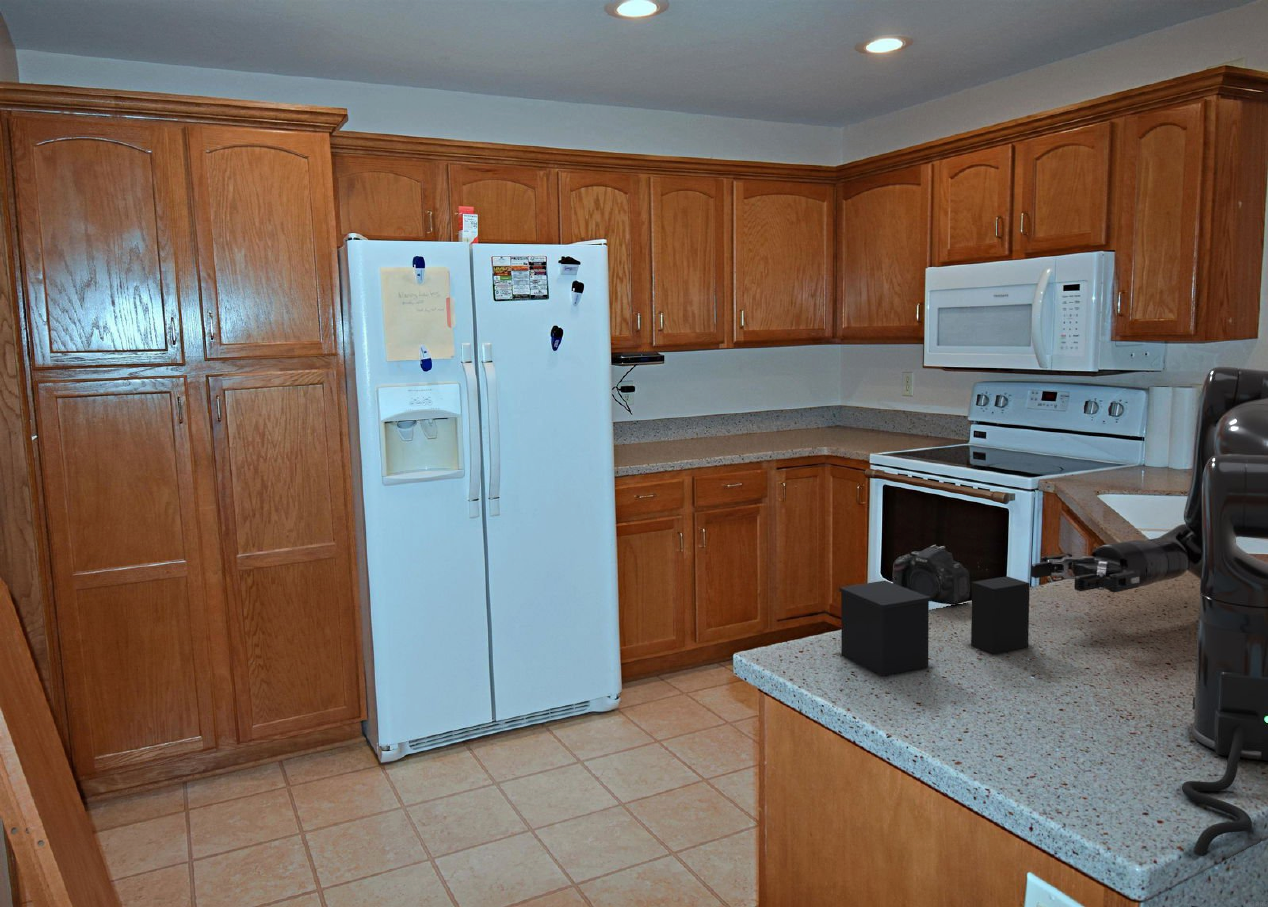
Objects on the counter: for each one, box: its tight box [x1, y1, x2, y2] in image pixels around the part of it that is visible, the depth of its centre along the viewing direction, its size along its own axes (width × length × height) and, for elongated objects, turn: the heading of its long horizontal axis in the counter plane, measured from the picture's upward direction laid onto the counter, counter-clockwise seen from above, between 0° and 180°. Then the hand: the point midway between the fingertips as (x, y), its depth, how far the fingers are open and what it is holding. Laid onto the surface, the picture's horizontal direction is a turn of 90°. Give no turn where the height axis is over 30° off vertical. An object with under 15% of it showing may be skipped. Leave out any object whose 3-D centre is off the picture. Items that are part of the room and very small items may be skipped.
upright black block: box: [970, 575, 1031, 655], centre depth 135 cm, size 4×7×10 cm, turn 112°
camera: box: [892, 544, 970, 606], centre depth 160 cm, size 13×10×10 cm
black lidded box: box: [838, 580, 931, 677], centre depth 130 cm, size 10×8×10 cm
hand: (1053, 577), depth 138 cm, fingers open, 8 cm apart
